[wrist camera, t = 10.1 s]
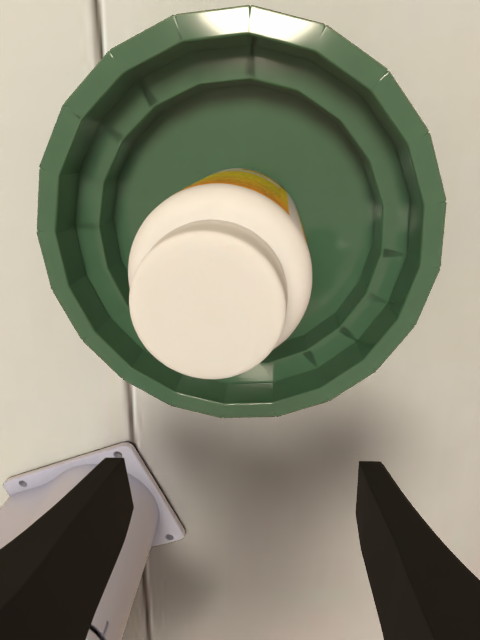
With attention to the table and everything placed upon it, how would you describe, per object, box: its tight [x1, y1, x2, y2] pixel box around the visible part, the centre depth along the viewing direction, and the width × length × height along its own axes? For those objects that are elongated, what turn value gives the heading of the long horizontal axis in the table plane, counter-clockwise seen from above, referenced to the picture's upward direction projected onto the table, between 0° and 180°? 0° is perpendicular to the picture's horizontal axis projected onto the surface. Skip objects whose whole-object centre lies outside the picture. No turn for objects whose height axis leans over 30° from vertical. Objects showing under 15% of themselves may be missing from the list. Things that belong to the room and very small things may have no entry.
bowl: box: [37, 5, 446, 418], centre depth 19 cm, size 16×16×4 cm
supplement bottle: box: [128, 168, 312, 379], centre depth 15 cm, size 6×6×10 cm
